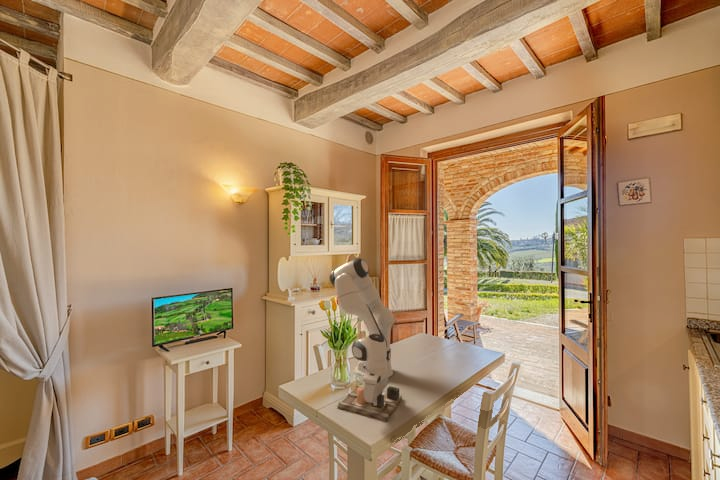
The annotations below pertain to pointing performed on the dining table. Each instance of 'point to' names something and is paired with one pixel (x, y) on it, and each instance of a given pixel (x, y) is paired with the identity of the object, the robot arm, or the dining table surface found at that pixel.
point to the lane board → (381, 415)
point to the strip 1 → (370, 405)
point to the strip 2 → (392, 395)
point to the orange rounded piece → (361, 396)
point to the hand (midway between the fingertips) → (377, 402)
